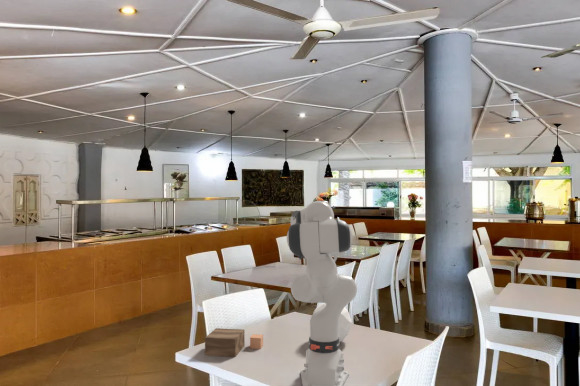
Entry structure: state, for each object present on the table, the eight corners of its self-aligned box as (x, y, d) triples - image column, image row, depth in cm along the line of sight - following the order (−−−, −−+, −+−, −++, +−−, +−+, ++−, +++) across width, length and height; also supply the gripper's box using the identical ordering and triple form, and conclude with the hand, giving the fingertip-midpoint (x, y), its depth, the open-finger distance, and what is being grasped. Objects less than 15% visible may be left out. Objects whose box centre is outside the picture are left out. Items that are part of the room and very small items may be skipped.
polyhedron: (337, 352, 211) (357, 317, 216) (337, 351, 193) (360, 312, 198) (304, 330, 216) (325, 296, 222) (302, 327, 198) (324, 290, 203)
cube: (260, 349, 198) (260, 338, 198) (250, 348, 199) (250, 337, 199) (263, 345, 203) (263, 334, 203) (252, 344, 204) (252, 334, 204)
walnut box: (235, 357, 188) (235, 339, 188) (205, 355, 190) (204, 337, 191) (244, 346, 202) (244, 329, 202) (216, 345, 204) (216, 328, 204)
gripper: (298, 238, 191) (300, 268, 192) (344, 235, 191) (346, 266, 192) (298, 235, 197) (299, 265, 198) (342, 233, 197) (344, 262, 199)
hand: (323, 265), depth 195 cm, fingers open, 8 cm apart
